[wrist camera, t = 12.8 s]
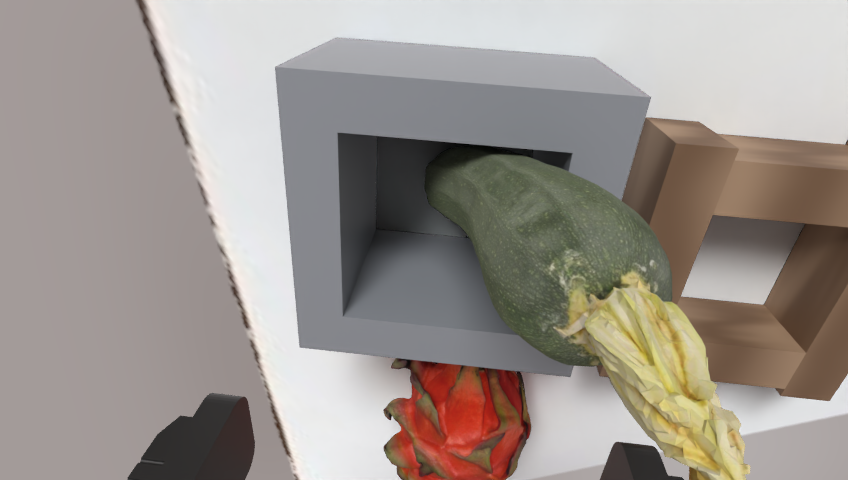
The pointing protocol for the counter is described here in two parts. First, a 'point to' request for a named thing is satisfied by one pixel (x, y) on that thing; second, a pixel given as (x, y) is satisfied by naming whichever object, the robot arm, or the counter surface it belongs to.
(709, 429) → the vegetable
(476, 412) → the dragon fruit
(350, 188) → the holder
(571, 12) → the counter surface
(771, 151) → the board
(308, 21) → the counter surface
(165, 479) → the robot arm
